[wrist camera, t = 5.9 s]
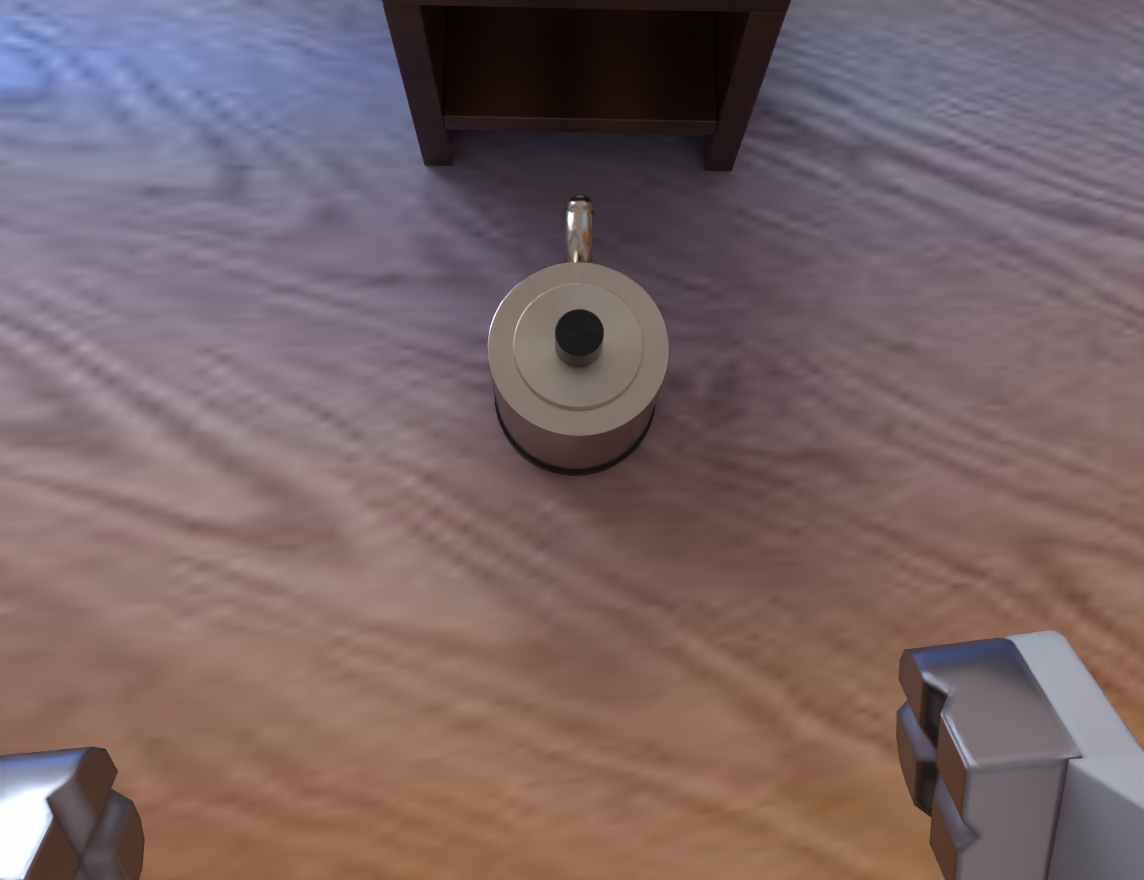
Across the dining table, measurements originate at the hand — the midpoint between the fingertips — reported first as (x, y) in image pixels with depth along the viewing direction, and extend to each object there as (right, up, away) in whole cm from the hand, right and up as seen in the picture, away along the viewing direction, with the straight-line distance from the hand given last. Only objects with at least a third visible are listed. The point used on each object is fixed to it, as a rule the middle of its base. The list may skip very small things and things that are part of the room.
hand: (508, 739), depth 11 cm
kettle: (+1, +6, +31) cm, 32 cm away
